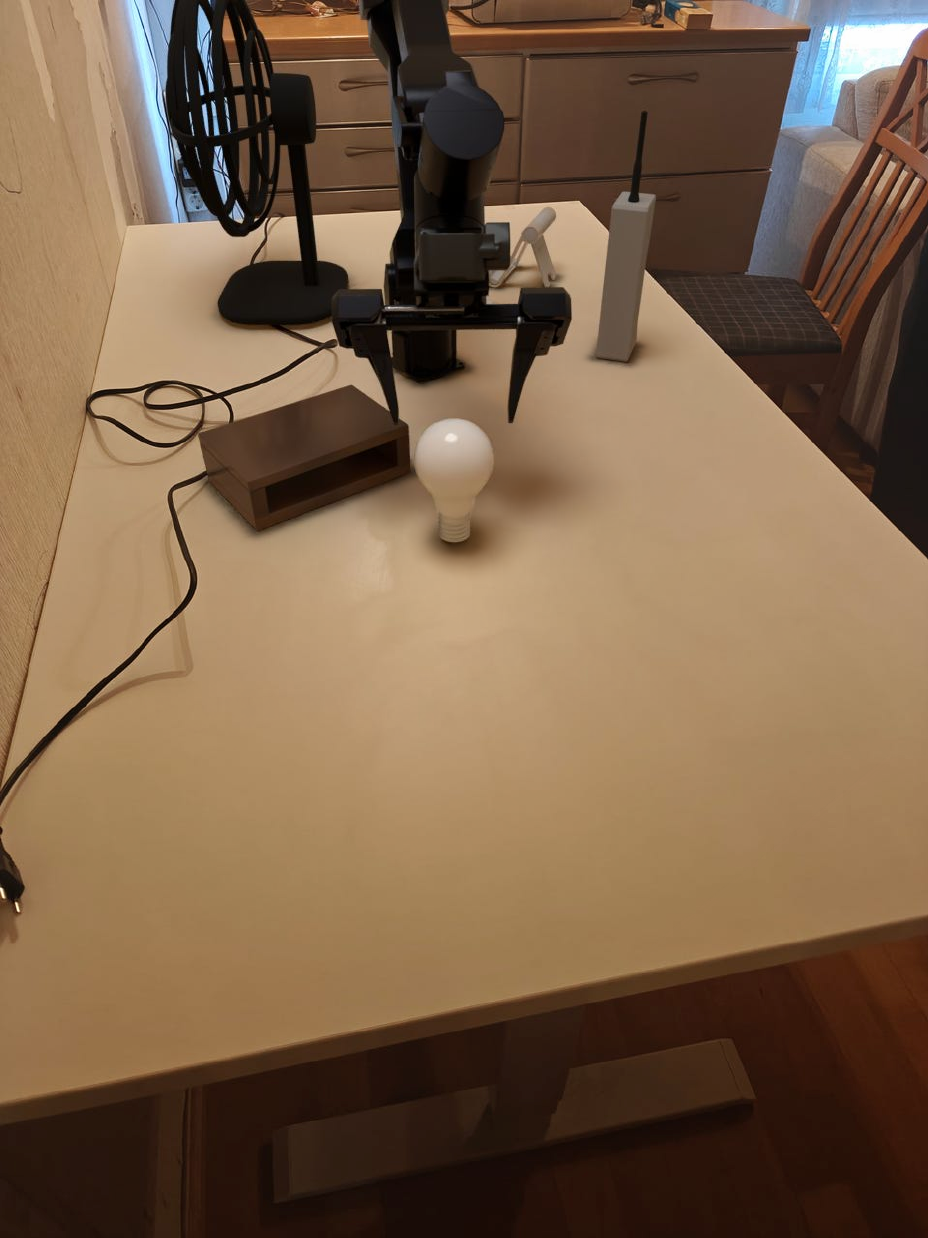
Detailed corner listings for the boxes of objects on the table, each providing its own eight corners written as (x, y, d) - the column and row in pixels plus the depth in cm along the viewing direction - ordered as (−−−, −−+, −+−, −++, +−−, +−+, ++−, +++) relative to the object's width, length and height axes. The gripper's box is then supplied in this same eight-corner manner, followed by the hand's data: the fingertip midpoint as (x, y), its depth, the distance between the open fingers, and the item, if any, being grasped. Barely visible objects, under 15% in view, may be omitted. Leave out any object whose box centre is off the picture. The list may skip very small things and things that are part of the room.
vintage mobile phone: (635, 345, 103) (669, 105, 86) (627, 363, 99) (660, 115, 83) (604, 341, 104) (631, 102, 87) (595, 358, 100) (621, 112, 84)
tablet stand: (506, 265, 123) (508, 202, 117) (560, 272, 121) (565, 208, 115) (486, 286, 117) (488, 221, 111) (543, 294, 115) (547, 228, 109)
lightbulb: (484, 566, 71) (486, 448, 64) (409, 556, 72) (403, 439, 65) (497, 522, 76) (501, 407, 69) (426, 513, 77) (423, 399, 70)
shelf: (355, 429, 88) (351, 383, 85) (411, 472, 82) (409, 424, 79) (208, 480, 81) (197, 432, 77) (257, 531, 75) (247, 482, 71)
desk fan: (233, 260, 124) (180, -48, 101) (356, 261, 124) (331, -48, 101) (187, 341, 104) (107, -23, 80) (334, 341, 104) (297, -22, 80)
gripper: (320, 177, 62) (322, 391, 61) (579, 175, 63) (586, 387, 62) (339, 253, 73) (341, 435, 72) (559, 251, 74) (564, 431, 73)
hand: (453, 422), depth 69 cm, fingers open, 9 cm apart
